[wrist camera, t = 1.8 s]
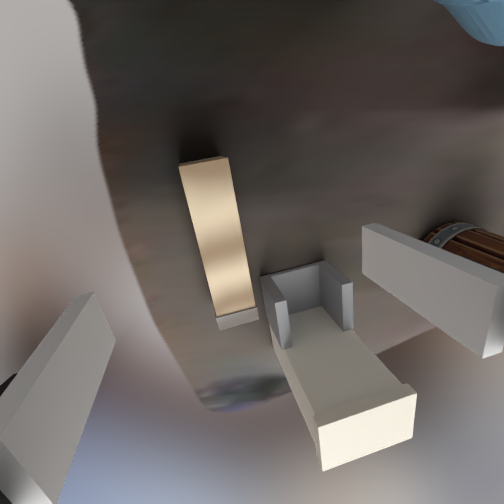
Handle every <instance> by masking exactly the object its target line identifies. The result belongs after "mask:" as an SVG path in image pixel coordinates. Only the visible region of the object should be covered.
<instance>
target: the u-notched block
mask: <svg viewBox="0 0 504 504" xmlns="http://www.w3.org/2000/svg"><path fill="white" fill-rule="evenodd" d="M260 281H261V287H262V293H263V299H264V305H265V310H266V316H267V320H268V322H269V325H270V331H271V337H272V343H273V348H274V351H275V353H276V355H277V358H278V360H279V362H280V364H281V367H282V369H283V371H284V374H285V376H286V378H287V380H288V383H289V385H290V387H291V390H292V392H293V394H294V397H295V399H296V401H297V403H298V406H299V408H300V410H301V412H302V415H303V417H304V420H305V422H306V424H307V426H308V429H309V431H310V433H311V436H312V438H313V440H314V443H315V445H316V451H317V459H318V462H319V464H320V466H321V469H322V471H325V470H328V469H330V468H333V467H336V466H338V465H341V464H344V463H346V462H349V461H352V460H354V459H357V458H359V457H362V456H365V455H368V454H370V453H373V452H376V451H378V450H381V449H384V448H386V447H389V446H392V445H394V444H397V443H400V442H402V441H405V440H408V439H410V438H412V435H413V425H414V416H415V406H416V397H417V393H416V392H415V391H414V390H413V389H412V387H411V386H410V385H409V384H408V383H407V384H404V385H402V384H401V383H400V382H399V381H398V379H396V377H395V376H394V375H393V374H392V373H391V372H390V371H389V370H388V369H387V367H386V366H385V365H384V364H383V363H382V362H381V361H380V360H379V359H378V358H377V356H376V355H375V354H374V353H373V352H372V351H371V350H370V349H369V348H368V347H367V346H366V344H365V343H364V342H363V341H362V340H361V339H360V338H359V337H358V336H357V335H356V333H355V332H354V331H353V330H352V329H353V283H352V281H350V280H349V279H348V278H347V277H345V276H344V275H343V274H342V273H340V272H339V271H338V270H337V269H336V268H334V267H333V266H332V265H331V264H329V263H328V262H327V261H326V260H324V261H320V262H316V263H312V264H309V265H305V266H301V267H297V268H293V269H289V270H285V271H281V272H277V273H273V274H269V275H265V276H261V277H260Z"/></svg>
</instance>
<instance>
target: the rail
mask: <svg viewBox="0 0 504 504" xmlns="http://www.w3.org/2000/svg"><path fill="white" fill-rule="evenodd" d="M179 171H180V175H181V179H182V183H183V187H184V191H185V194H186V198H187V202H188V206H189V210H190V214H191V218H192V222H193V226H194V229H195V233H196V237H197V241H198V245H199V249H200V253H201V257H202V261H203V265H204V268H205V272H206V276H207V280H208V284H209V288H210V292H211V296H212V300H213V303H214V309H215V315H216V320H217V324H218V327H219V330H223V329H227V328H230V327H234V326H237V325H241V324H245V323H248V322H252V321H255V320H259V316H258V310H257V306H256V304H255V301H254V295H253V290H252V285H251V279H250V274H249V268H248V263H247V258H246V252H245V247H244V242H243V236H242V231H241V225H240V220H239V215H238V209H237V204H236V199H235V193H234V188H233V182H232V177H231V172H230V166H229V161H228V158H227V157H222V156H219V157H213V158H208V159H202V160H197V161H191V162H186V163H180V164H179Z"/></svg>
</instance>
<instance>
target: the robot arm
mask: <svg viewBox="0 0 504 504" xmlns="http://www.w3.org/2000/svg"><path fill="white" fill-rule="evenodd" d="M433 1H436V2H438V3H440V4H443V5H444V6H445V7H446V9H447V10H448V11H449V12H450V13H451V14H452V16H453V17H454V18H455V19H456V20H457V22H458V23H459V24H460V25H461V26H462V27H463V29H464V30H465V31H466V32H467V33H468V34H469V35H470V36H472V37H473V38H475V39H476V40H478V41H480V42H483V43H487V44H491V45H495V46H504V0H433ZM362 274H364V275H365V276H367V277H368V278H369V279H371V280H372V281H374V282H375V283H377V284H378V285H379V286H381V287H382V288H384V289H385V290H386V291H388V292H389V293H391V294H392V295H393V296H395V297H396V298H398V299H399V300H400V301H402V302H403V303H405V304H406V305H407V306H409V307H410V308H412V309H413V310H414V311H416V312H417V313H419V314H420V315H421V316H423V317H424V318H426V319H427V320H428V321H430V322H431V323H433V324H434V325H435V326H437V327H438V328H440V329H441V330H443V331H444V332H445V333H447V334H448V335H450V336H451V337H452V338H454V339H455V340H457V341H458V342H459V343H461V344H462V345H464V346H465V347H466V348H468V349H469V350H471V351H472V352H473V353H475V354H476V355H478V356H479V357H480V358H486V357H488V356H492V355H494V354H497V353H500V352H502V348H503V344H504V272H503V271H501V270H498V269H496V268H493V267H492V268H490V266H488V265H485V264H483V263H479V262H478V261H475V260H472V259H470V258H467V257H465V256H460V255H456V254H453V253H450V252H448V251H445V250H443V249H440V248H438V247H435V246H433V245H430V244H428V243H425V242H423V241H420V240H418V239H415V238H413V237H410V236H408V235H405V234H402V233H400V232H397V231H395V230H392V229H390V228H387V227H385V226H382V225H380V224H377V223H373V224H369V225H365V226H362ZM115 342H116V340H115V338H114V335H113V333H112V331H111V329H110V327H109V325H108V322H107V320H106V318H105V316H104V314H103V311H102V309H101V307H100V305H99V303H98V301H97V298H96V296H95V294H94V292H92V293H88V294H83V295H80V296H76V297H75V298H74V299H73V300H72V302H71V303H70V304H69V306H68V307H67V308H66V310H65V311H64V312H63V314H62V315H61V316H60V318H59V319H58V320H57V322H56V323H55V324H54V326H53V327H52V328H51V330H50V331H49V333H48V334H47V335H46V336H45V338H44V339H43V340H42V342H41V343H40V344H39V346H38V347H37V348H36V350H35V351H34V352H33V354H32V355H31V357H30V358H29V359H28V360H27V362H26V363H25V365H24V366H23V367H22V368H21V370H20V371H19V373H16V374H13V375H12V376H11V377H10V378H9V379H7V380H6V381H5V382H4V383H3V384H2V385H0V504H56V503H57V500H58V498H59V495H60V492H61V490H62V487H63V484H64V481H65V479H66V476H67V473H68V471H69V468H70V465H71V462H72V460H73V457H74V454H75V451H76V448H77V446H78V443H79V440H80V437H81V435H82V432H83V430H84V427H85V424H86V421H87V419H88V416H89V413H90V410H91V407H92V405H93V402H94V399H95V397H96V394H97V391H98V388H99V386H100V383H101V380H102V377H103V375H104V372H105V369H106V367H107V364H108V361H109V358H110V356H111V353H112V350H113V347H114V345H115Z"/></svg>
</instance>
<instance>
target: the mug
mask: <svg viewBox="0 0 504 504" xmlns="http://www.w3.org/2000/svg"><path fill="white" fill-rule="evenodd" d="M423 242H425V243H428V244H430V245H433V246H435V247H438V248H440V249H443V250H445V251H448V252H450V253H453V254H456V255H460V256H465V257H467V258H470V259H472V260H475V261H478V262H479V263H483V264H485V265H488V266H490V268H492V267H493V268H496V269H498V270H501V271H503V272H504V237H502V236H499V235H496V234H493V233H490V232H489V231H488V230H486V229H483V228H480V227H477V226H475V225H472V224H469V223H462V222H454V223H448V224H445V225H442V226H441V227H439V228H437V229H435V230H434V231H432V232H431V233H430V234H429V235H428V236H427V237H426V238H425V239H424V240H423Z"/></svg>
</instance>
